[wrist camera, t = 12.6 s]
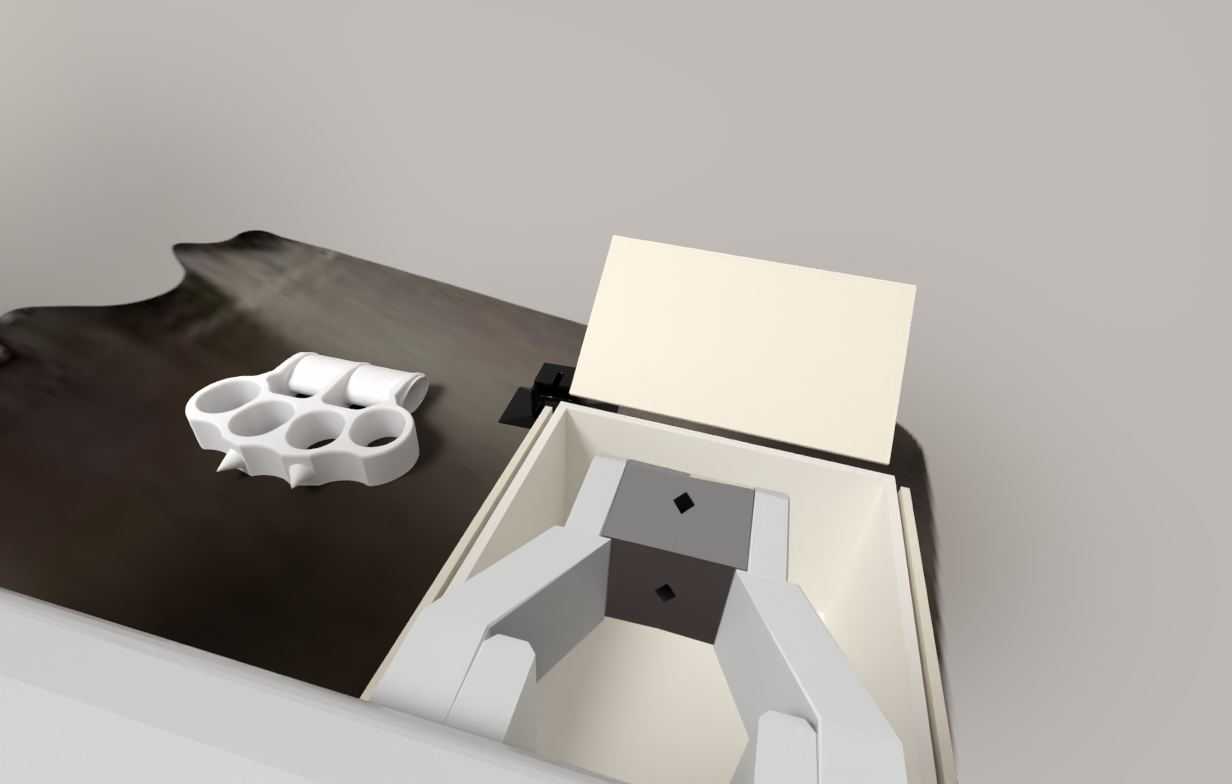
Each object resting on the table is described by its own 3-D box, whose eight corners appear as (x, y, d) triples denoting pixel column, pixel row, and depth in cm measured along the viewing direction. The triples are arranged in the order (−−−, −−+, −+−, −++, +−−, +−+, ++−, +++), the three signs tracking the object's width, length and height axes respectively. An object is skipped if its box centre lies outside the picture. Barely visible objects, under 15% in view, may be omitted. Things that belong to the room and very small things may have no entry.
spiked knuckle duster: (464, 402, 53) (374, 523, 42) (284, 366, 56) (152, 471, 44) (460, 370, 51) (365, 489, 40) (274, 335, 54) (133, 437, 42)
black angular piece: (477, 429, 51) (472, 386, 48) (507, 381, 56) (504, 340, 54) (621, 456, 49) (624, 412, 46) (636, 404, 55) (641, 362, 52)
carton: (372, 911, 25) (299, 793, 18) (550, 538, 41) (550, 398, 34) (854, 1113, 21) (1004, 1067, 14) (841, 616, 37) (908, 479, 30)
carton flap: (613, 235, 36) (614, 238, 36) (569, 393, 34) (570, 395, 34) (916, 285, 33) (913, 288, 33) (889, 464, 30) (886, 465, 31)
